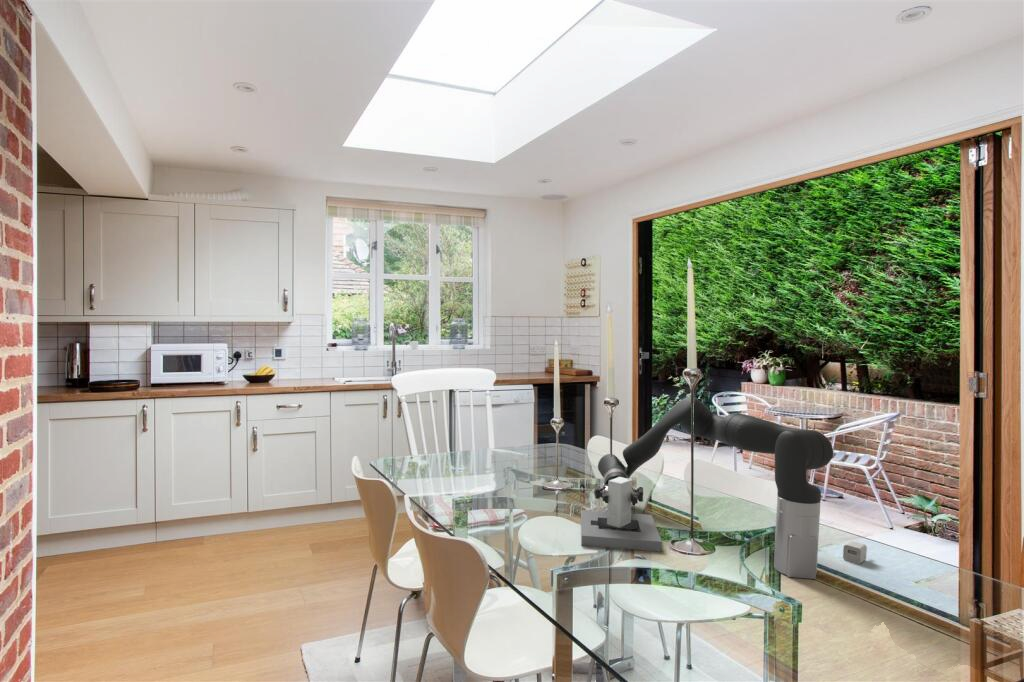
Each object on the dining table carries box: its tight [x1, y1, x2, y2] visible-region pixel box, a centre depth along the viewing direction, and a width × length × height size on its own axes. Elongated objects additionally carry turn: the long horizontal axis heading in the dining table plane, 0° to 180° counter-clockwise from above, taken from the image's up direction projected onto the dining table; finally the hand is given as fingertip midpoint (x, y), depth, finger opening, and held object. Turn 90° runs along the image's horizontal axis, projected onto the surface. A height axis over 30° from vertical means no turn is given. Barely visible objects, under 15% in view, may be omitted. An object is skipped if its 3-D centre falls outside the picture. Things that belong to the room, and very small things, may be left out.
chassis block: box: [580, 509, 663, 553], centre depth 166 cm, size 22×20×2 cm
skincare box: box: [606, 477, 633, 529], centre depth 166 cm, size 6×4×12 cm
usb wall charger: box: [842, 540, 868, 565], centre depth 154 cm, size 4×7×4 cm, turn 134°
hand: (620, 500), depth 164 cm, fingers closed on skincare box, 6 cm apart
